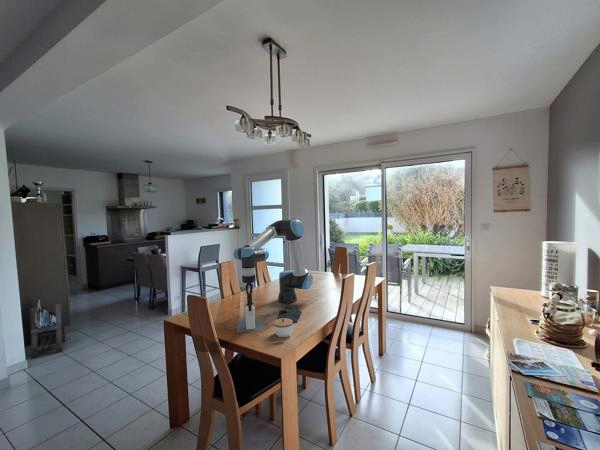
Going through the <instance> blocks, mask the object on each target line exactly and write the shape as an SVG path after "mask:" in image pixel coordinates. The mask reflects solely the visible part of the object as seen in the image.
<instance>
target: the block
mask: <svg viewBox="0 0 600 450" xmlns="http://www.w3.org/2000/svg"><path fill="white" fill-rule="evenodd" d="M255 307H256V306H255V305H252V308H253V316H251V317H248V306H245V318H246V330H255V317H256V312H255V309H256V308H255Z"/></svg>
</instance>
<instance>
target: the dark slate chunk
mask: <svg viewBox="0 0 600 450" xmlns="http://www.w3.org/2000/svg"><path fill="white" fill-rule="evenodd" d="M301 315H302V310H300V309H298V308H296V307H295V306H292V305H285V307H284V309H281V310H280V311H279V313H278V315H277V318H276V320H277V319H280V318H288V319H291V320H292V321H293V324H296V323H298V322H299V320H300V318H301Z"/></svg>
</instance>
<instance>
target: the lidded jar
mask: <svg viewBox="0 0 600 450" xmlns="http://www.w3.org/2000/svg"><path fill="white" fill-rule="evenodd" d="M293 324H294V323H293V321H292V320H291V319H288V318H280V319H277V318H276V319H275V320H273V330H274V333H275V335H276V336H277V337H280V338H287V337H289V336H290V335H291V333H292V331H293V329H294V328H293V326H294V325H293Z"/></svg>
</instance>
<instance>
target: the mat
mask: <svg viewBox="0 0 600 450" xmlns="http://www.w3.org/2000/svg"><path fill="white" fill-rule="evenodd" d="M236 327H237V328H236V331H235V332H236V334H237V333H238V334H239V333H240V334H241V333H251V332H259V331H266V328H265V327H266V326H265V316H264V315H261V316H255V330H246V317H242V318H241V317H239V318H238V322H237V326H236Z"/></svg>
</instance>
